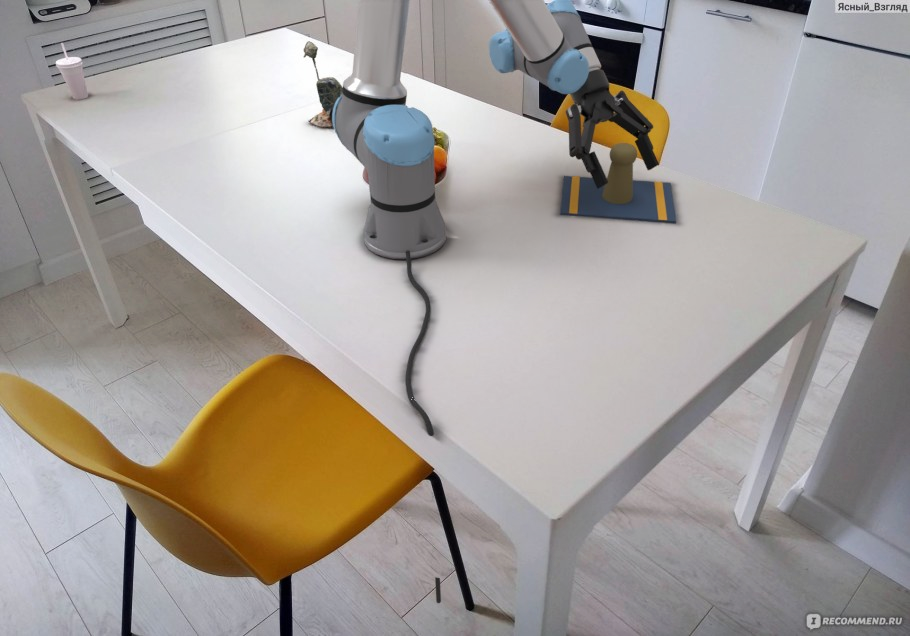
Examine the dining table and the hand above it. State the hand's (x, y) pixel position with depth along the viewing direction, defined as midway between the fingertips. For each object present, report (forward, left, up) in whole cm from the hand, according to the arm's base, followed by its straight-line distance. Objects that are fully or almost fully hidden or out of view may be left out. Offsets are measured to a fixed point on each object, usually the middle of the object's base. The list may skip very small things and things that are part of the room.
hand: (628, 176), depth 139 cm
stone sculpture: (+31, +70, -6) cm, 77 cm away
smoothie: (+39, +143, -6) cm, 149 cm away
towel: (+2, +1, -6) cm, 6 cm away
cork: (+2, +1, -6) cm, 6 cm away
